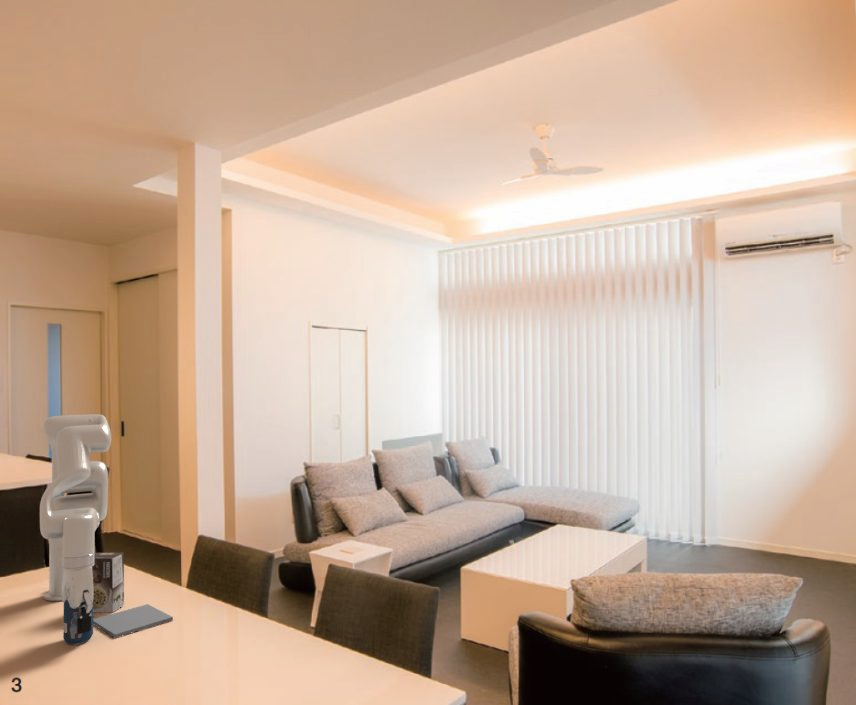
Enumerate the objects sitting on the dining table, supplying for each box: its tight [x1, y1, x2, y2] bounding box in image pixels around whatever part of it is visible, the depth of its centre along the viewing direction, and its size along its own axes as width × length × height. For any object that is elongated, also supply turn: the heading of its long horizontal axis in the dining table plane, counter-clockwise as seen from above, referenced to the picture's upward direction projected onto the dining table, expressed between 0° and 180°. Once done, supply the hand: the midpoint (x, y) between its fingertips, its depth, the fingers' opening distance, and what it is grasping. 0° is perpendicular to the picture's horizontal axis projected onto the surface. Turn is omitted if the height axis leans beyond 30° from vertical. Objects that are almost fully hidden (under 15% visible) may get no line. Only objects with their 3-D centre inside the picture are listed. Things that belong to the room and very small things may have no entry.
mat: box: [93, 603, 174, 638], centre depth 183 cm, size 16×16×1 cm
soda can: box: [62, 600, 94, 646], centre depth 171 cm, size 7×7×12 cm
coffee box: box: [92, 552, 125, 613], centre depth 194 cm, size 9×6×16 cm
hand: (78, 628), depth 171 cm, fingers closed on soda can, 6 cm apart
